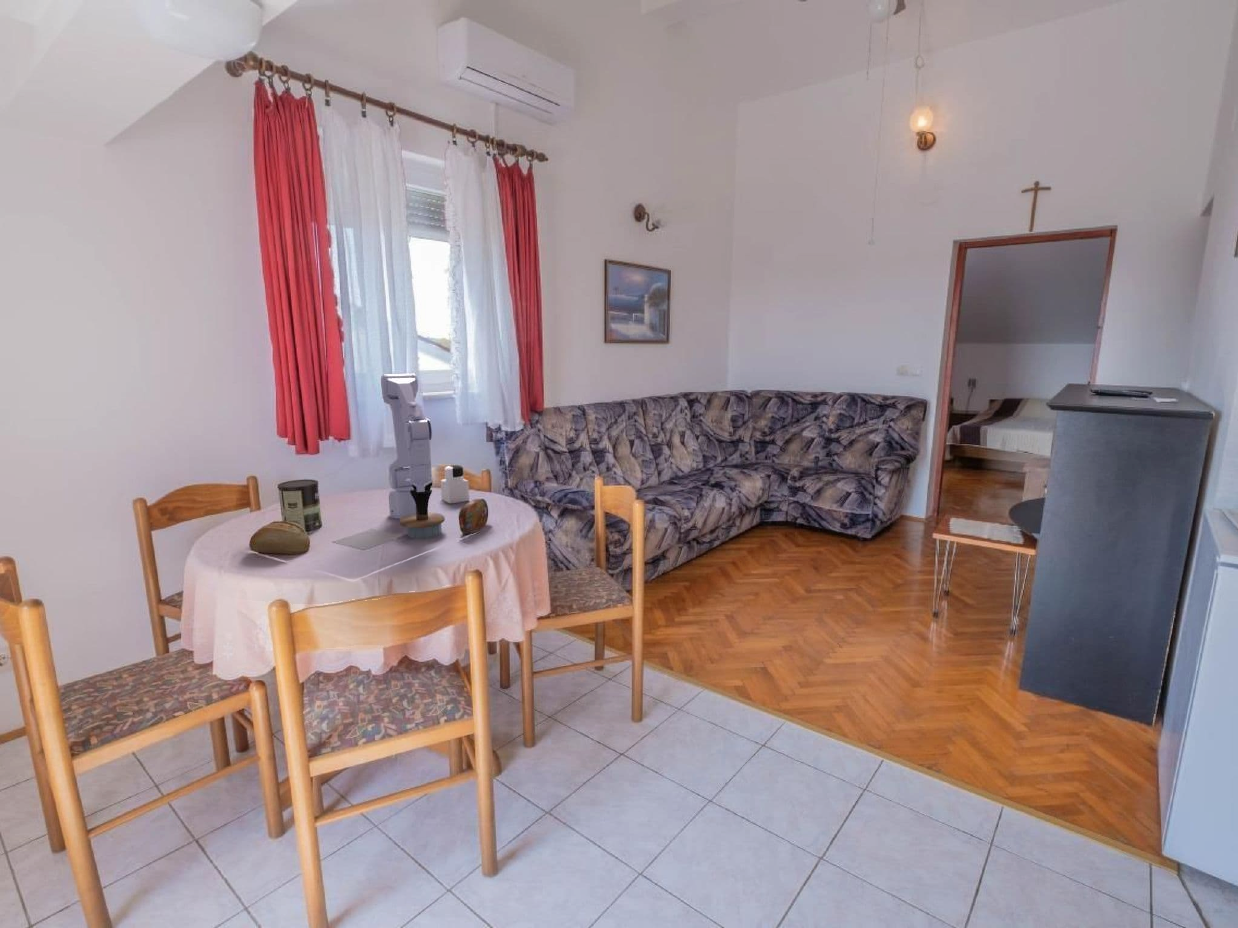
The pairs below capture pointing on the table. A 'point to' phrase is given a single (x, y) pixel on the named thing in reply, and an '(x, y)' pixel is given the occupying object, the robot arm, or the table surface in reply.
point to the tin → (473, 516)
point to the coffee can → (301, 503)
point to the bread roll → (280, 538)
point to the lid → (422, 520)
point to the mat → (367, 539)
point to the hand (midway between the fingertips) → (423, 511)
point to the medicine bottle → (454, 485)
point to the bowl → (424, 532)
